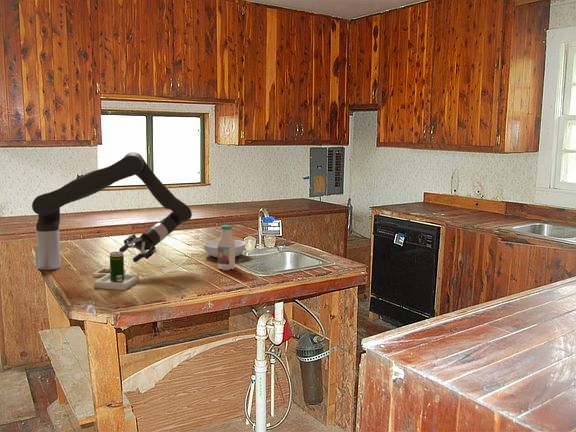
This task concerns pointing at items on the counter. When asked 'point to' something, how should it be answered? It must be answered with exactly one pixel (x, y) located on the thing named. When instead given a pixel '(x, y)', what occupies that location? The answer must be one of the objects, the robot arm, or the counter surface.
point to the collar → (99, 272)
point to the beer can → (117, 267)
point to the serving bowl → (212, 247)
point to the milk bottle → (226, 249)
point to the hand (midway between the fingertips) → (126, 256)
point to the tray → (107, 284)
